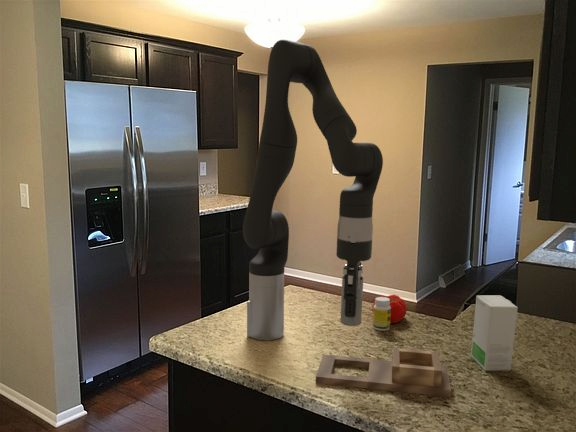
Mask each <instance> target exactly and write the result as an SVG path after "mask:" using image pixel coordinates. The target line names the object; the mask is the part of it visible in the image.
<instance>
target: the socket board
mask: <svg viewBox="0 0 576 432" xmlns="http://www.w3.org/2000/svg"><path fill="white" fill-rule="evenodd" d="M440 360H441V359H440V356H439V352H438V351H431V350H423V349H422V350H421V349H410V348H398V347H392V355H391V360H389V359H388V360H387V359H379V358H368V357H367V358H366V357H356V356H346V355H345V356H344V355H334V354H333V355H332V354H322V357H321V360H320V364H319V366H318V368H317V372H316V375H315V384H321V385H322V384H323V385H331V386H342V387H350V388H351V387H353V388H359V389H360V388H361V389H368V390H369V389H370V390H377V391H388V392H398V393H409V394H419V395H426V396H427V395H428V396H439V397H446V398H447V397H449V398H451V397H452V386H451V382H450V377H449V374H448V373H449V372H448V369H447V365H443V364H442V365H441V361H440ZM335 366H340V367H341V366H342V367H352V368H362V369H363V368H364V369H368V375H367V377H366V376H365V377H364V376H357V375H356V376H355V375H347V374H346V375H345V374H337V373H336V374H335V373H334V370H335V369H334V368H335Z"/></svg>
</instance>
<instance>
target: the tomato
mask: <svg viewBox="0 0 576 432" xmlns="http://www.w3.org/2000/svg"><path fill="white" fill-rule="evenodd" d="M378 297H386V298H389V299H390V307H391V317H390V324H395V323H398V322H400V321H402V320H403V319H404V318H405V316H406V315H407V310H408V309H407V304H406V302H405V300H404V299H403V298H401V297H400V296H399V295H396V294H390V295H388V296H384V295H379V296H378ZM374 305H375V300H374V301H373V305H372V307H371V308H372V314H373V313H374Z"/></svg>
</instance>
